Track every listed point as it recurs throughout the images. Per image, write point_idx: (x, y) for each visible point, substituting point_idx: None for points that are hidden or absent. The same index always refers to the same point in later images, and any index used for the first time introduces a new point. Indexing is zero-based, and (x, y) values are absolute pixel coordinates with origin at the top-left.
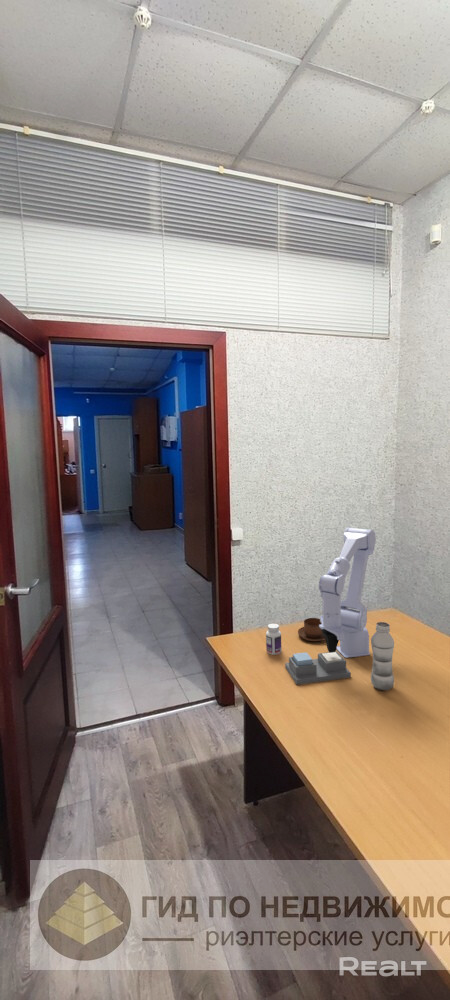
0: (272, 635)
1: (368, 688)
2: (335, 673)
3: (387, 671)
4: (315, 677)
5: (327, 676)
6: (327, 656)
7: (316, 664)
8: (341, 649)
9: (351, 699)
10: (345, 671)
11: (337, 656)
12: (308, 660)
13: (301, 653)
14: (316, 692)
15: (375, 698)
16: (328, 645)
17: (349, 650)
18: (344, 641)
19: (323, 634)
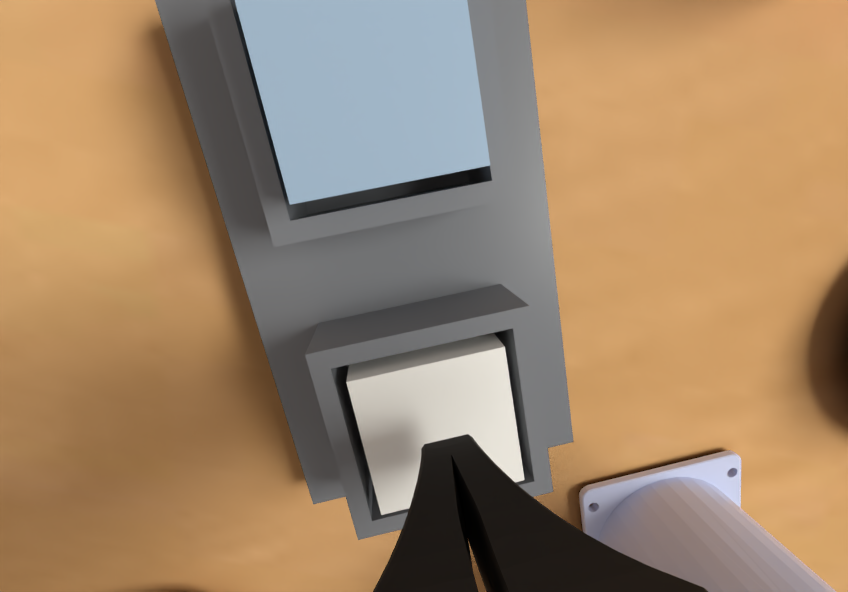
0: None
1: (174, 558)
2: (300, 395)
3: None
4: (223, 213)
5: (259, 323)
6: (440, 394)
7: (460, 265)
8: (669, 495)
9: (4, 434)
10: (333, 471)
11: None
12: (277, 149)
13: (463, 79)
14: (66, 187)
15: (48, 577)
16: (416, 504)
17: (623, 553)
18: (699, 582)
19: (597, 570)
